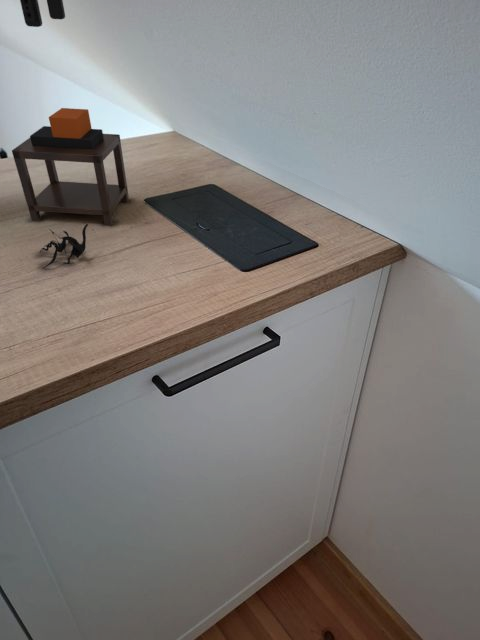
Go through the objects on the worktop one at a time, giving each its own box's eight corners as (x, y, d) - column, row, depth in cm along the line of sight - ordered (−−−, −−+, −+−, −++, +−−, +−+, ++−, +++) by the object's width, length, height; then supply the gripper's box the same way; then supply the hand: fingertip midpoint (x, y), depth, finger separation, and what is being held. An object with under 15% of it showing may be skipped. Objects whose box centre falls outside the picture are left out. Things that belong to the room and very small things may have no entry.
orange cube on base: (32, 145, 79) (24, 115, 76) (45, 135, 83) (38, 106, 80) (93, 149, 79) (87, 119, 76) (103, 138, 83) (99, 110, 80)
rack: (31, 221, 85) (11, 150, 77) (56, 196, 93) (40, 129, 85) (111, 226, 84) (99, 155, 76) (129, 200, 93) (119, 134, 85)
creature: (32, 274, 74) (78, 271, 72) (15, 242, 70) (62, 237, 68) (58, 250, 80) (101, 245, 78) (43, 219, 76) (87, 214, 74)
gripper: (13, -124, 68) (42, 15, 79) (-43, -137, 57) (-1, 27, 68) (66, -121, 68) (88, 18, 79) (19, -134, 57) (52, 30, 68)
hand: (46, 22), depth 73 cm, fingers open, 8 cm apart
